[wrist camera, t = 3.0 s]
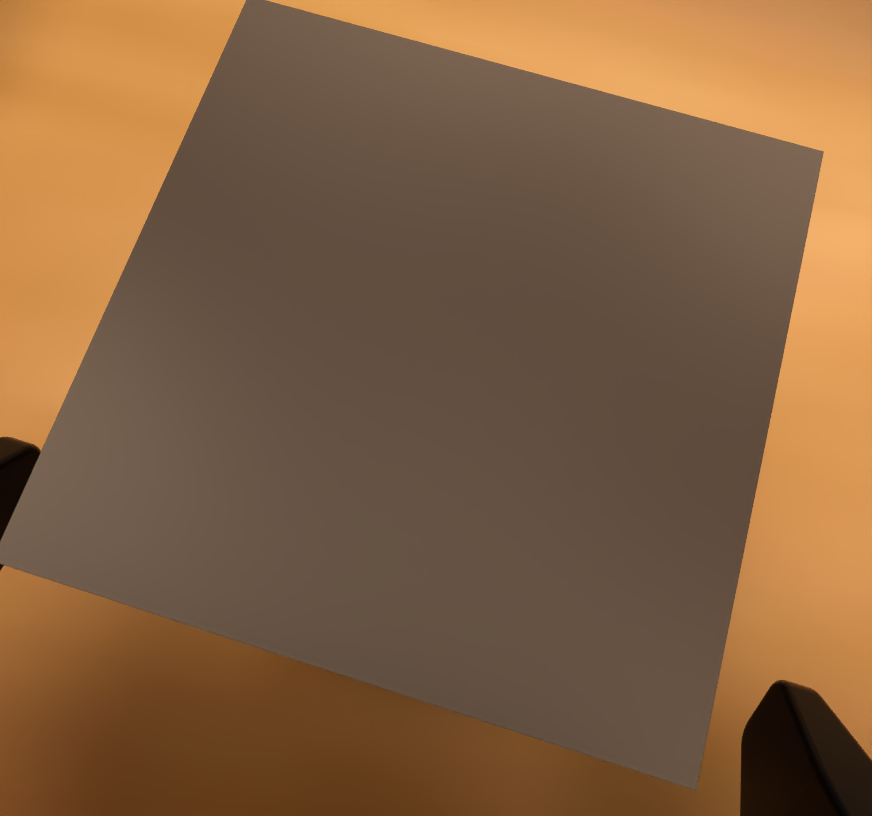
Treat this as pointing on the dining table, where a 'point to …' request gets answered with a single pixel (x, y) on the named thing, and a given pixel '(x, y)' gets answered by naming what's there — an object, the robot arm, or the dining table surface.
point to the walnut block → (439, 386)
